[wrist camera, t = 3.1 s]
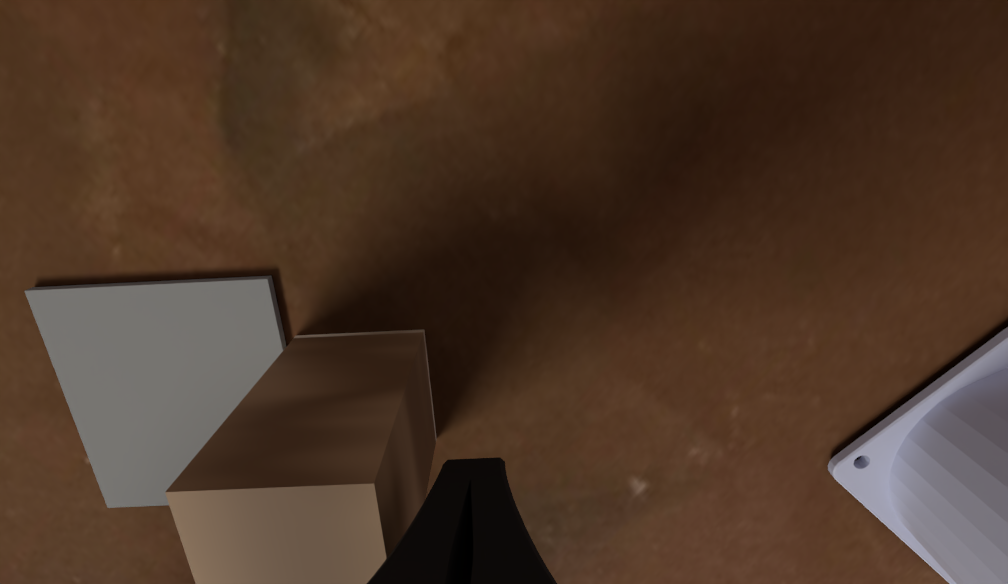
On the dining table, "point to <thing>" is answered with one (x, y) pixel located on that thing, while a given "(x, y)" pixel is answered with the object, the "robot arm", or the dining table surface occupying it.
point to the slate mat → (155, 369)
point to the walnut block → (313, 465)
